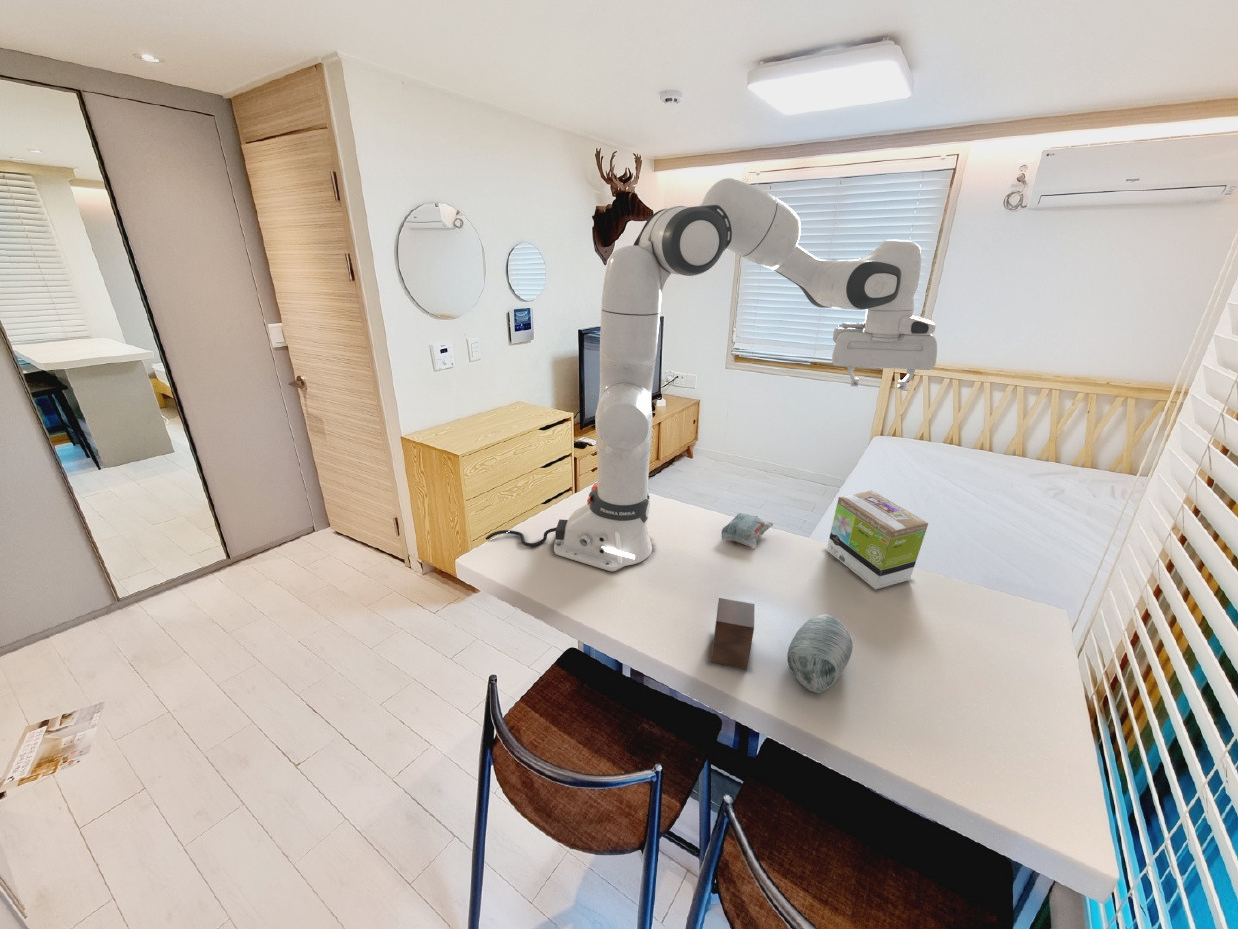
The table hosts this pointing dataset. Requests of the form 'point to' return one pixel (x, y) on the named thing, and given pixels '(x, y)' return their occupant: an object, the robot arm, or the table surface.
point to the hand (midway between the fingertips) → (877, 387)
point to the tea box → (876, 538)
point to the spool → (819, 652)
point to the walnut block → (733, 633)
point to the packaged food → (745, 529)
